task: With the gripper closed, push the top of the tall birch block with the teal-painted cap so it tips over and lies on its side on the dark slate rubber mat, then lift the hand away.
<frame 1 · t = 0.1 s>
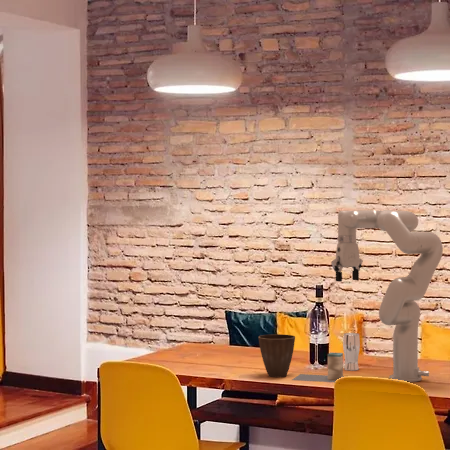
hand: (347, 280, 415), 37 cm above the table, tool pointing down, fingers open, 9 cm apart
capped block: (335, 379, 388), point 1 cm above the table, touching rubber mat
plant pot: (276, 376, 400), on the table
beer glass: (351, 370, 414), on the table
rubber mat: (322, 379, 390), on the table
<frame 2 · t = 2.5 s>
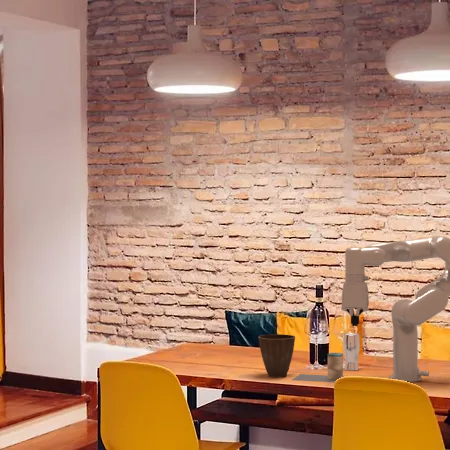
hand: (355, 325, 385), 22 cm above the table, tool pointing down, fingers closed
nothing on the table moved.
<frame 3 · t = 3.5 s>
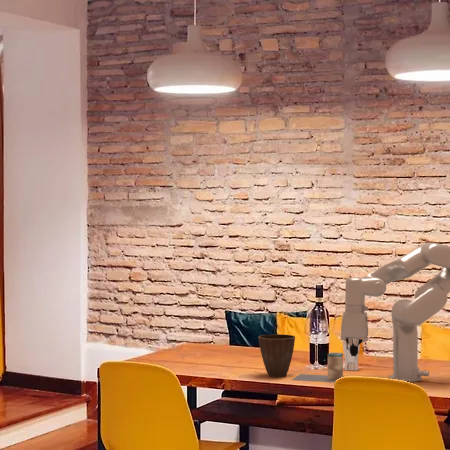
hand: (353, 355, 385), 10 cm above the table, tool pointing down, fingers closed
nothing on the table moved.
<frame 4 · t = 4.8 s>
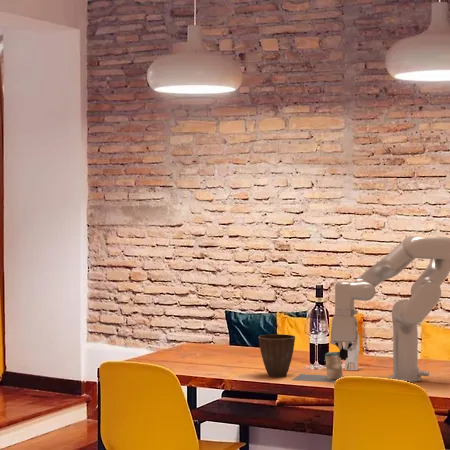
hand: (343, 359, 387), 8 cm above the table, tool pointing down, fingers closed
capped block: (335, 378, 388), point 1 cm above the table, tilted 6°, touching rubber mat
everything else where it was.
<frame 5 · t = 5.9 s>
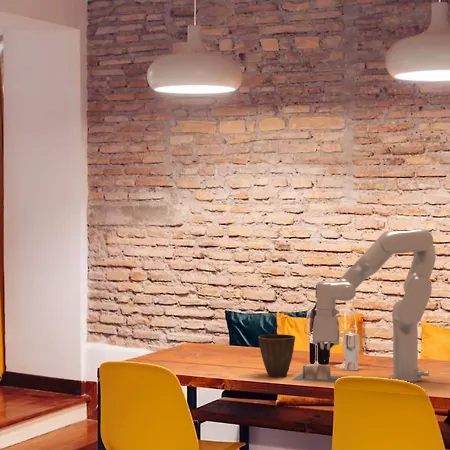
hand: (325, 359, 389), 8 cm above the table, tool pointing down, fingers closed
capped block: (329, 372, 389), point 3 cm above the table, tilted 90°, touching rubber mat
everything else where it was.
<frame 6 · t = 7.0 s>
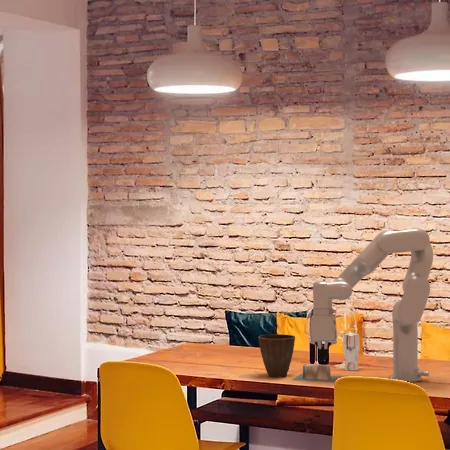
hand: (323, 358, 390), 8 cm above the table, tool pointing down, fingers closed
nothing on the table moved.
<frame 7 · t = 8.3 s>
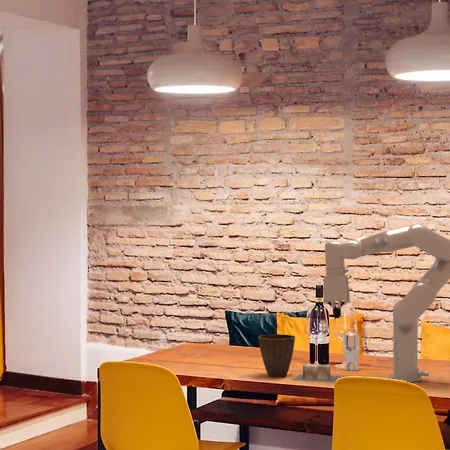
hand: (337, 317, 394), 24 cm above the table, tool pointing down, fingers closed
nothing on the table moved.
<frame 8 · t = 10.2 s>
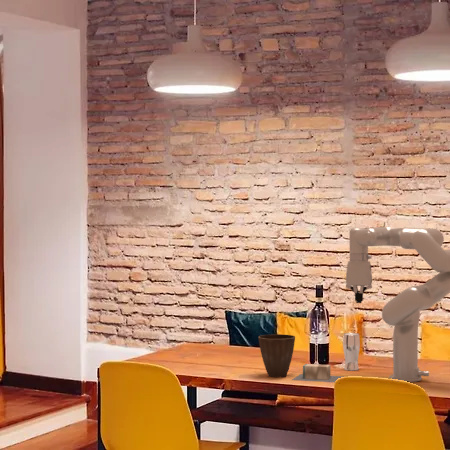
hand: (358, 302, 403), 29 cm above the table, tool pointing down, fingers closed
nothing on the table moved.
at the end: capped block tilted 90°; capped block inside the target area (2.0 cm from its centre), point 3.1 cm above the table; capped block touching rubber mat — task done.
